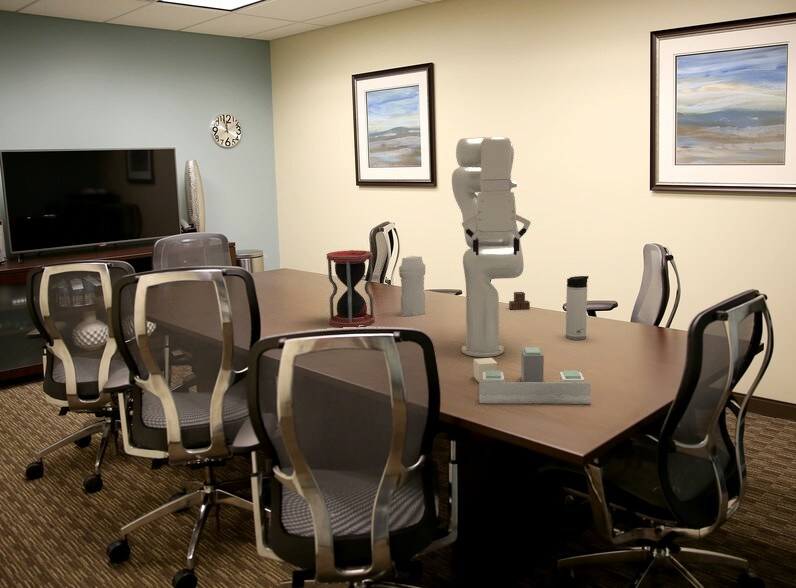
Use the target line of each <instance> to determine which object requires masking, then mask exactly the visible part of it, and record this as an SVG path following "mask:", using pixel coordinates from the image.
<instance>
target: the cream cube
mask: <svg viewBox="0 0 796 588" xmlns="http://www.w3.org/2000/svg"><path fill="white" fill-rule="evenodd" d="M486 371H498V362H497V361H496V360H495V359H494V358H493V357H480V358H473V378H474V379H475V380H476V381H477V382H478V383H479V382H483V372H486Z"/></svg>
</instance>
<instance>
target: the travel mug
mask: <svg viewBox="0 0 796 588" xmlns="http://www.w3.org/2000/svg"><path fill="white" fill-rule="evenodd" d="M566 279H567V280H566V303H565V305H566V310H565V312H566V313H565V338H567V339H568V340H571V341H572V340H573V341H583V340H585V339H586V338H587V317H588V315H587V313H588V312H587V309H588V308H587V307H588V306H587V305H588V279H589V275H577V276H570V277H569V278H566Z"/></svg>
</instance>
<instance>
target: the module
mask: <svg viewBox="0 0 796 588" xmlns="http://www.w3.org/2000/svg"><path fill="white" fill-rule="evenodd" d="M544 358H545V357H544V353H543V351H542V348H541V347H538V346H537V347H535V346H534V347H532V346H531V347H530V346H529V347H528V346H527V347H521V366H520V367H521V371H520V373H521V375H520V378H521V382H544V366H545V365H544V364H545V363H544V360H545V359H544Z"/></svg>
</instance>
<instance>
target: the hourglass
mask: <svg viewBox="0 0 796 588" xmlns="http://www.w3.org/2000/svg"><path fill="white" fill-rule="evenodd" d="M373 254H374V253H373V252H372V251H369V250H355V249H349V250H339V251H332V252H331V251H330V252H328V253H326V261H327V270H328V279H329V280H328V281H329V282H330V283H331V285H332V288H333V290H332V294H331V295H330V296H329V312H330V315H329V317H330V318H329V324H330V325H331V326H332V327H336V328H342V327H356V328H359V327H358V326H359V325H364V327H367V325H368V326H372V325H373V324H374V323H375V322H376V318H375V313H374V312H375V310H374V309H375V308H374V296H373V294H372V293H371V292H370V289H369V287H370V283H371V282H372V281H373V280H372V279H373V278H374V277H373V257H374V256H373ZM367 260H368V272H369V273H368V275H369V277H368V280H367V281H366V282H365V284H364V292H365V294H367V295H368V297H369V305H370V306H369V307H370V310H369V311H370V313H367V312H368V305H367V302H366V300H365V299H364V297H363V296H362V294H360V293H359V291H357V290H356V289H355V288H356V287H357V285H359V283H360V282H361V281H362V280H363V278H364V276H365V274H366V263H365V262H367ZM332 262H333V263H334V271H335V275H336V277H337V278H338V280H339V281H340V282H341V283H342V284H343V285H344V286H345V287H346V288H347V289H346V290H345V292H344V293H343V294H342V295H341V296H340V297H339V298H338V301H337V303H336V315H334V297H335V296H336V294H337V293H338V286H337V283H336V282H335V281H334V279H333V276H332V275H333V273H332ZM372 323H373V324H372Z"/></svg>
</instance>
